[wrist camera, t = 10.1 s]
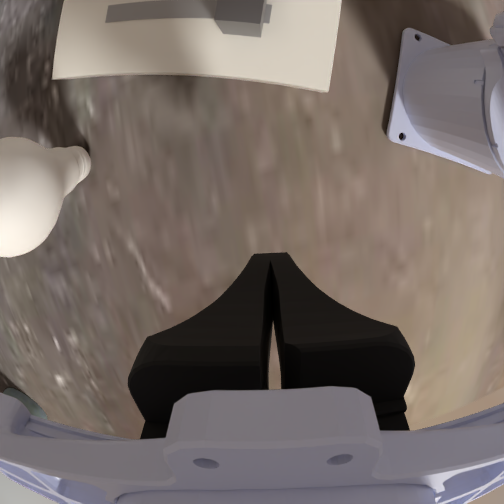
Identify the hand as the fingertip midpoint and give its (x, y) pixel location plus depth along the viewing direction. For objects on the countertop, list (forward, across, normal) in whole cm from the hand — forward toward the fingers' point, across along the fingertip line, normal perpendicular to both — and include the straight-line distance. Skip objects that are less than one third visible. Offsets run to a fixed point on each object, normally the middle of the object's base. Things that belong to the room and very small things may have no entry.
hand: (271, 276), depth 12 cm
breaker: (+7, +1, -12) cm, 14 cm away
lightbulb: (+10, +13, -4) cm, 16 cm away
